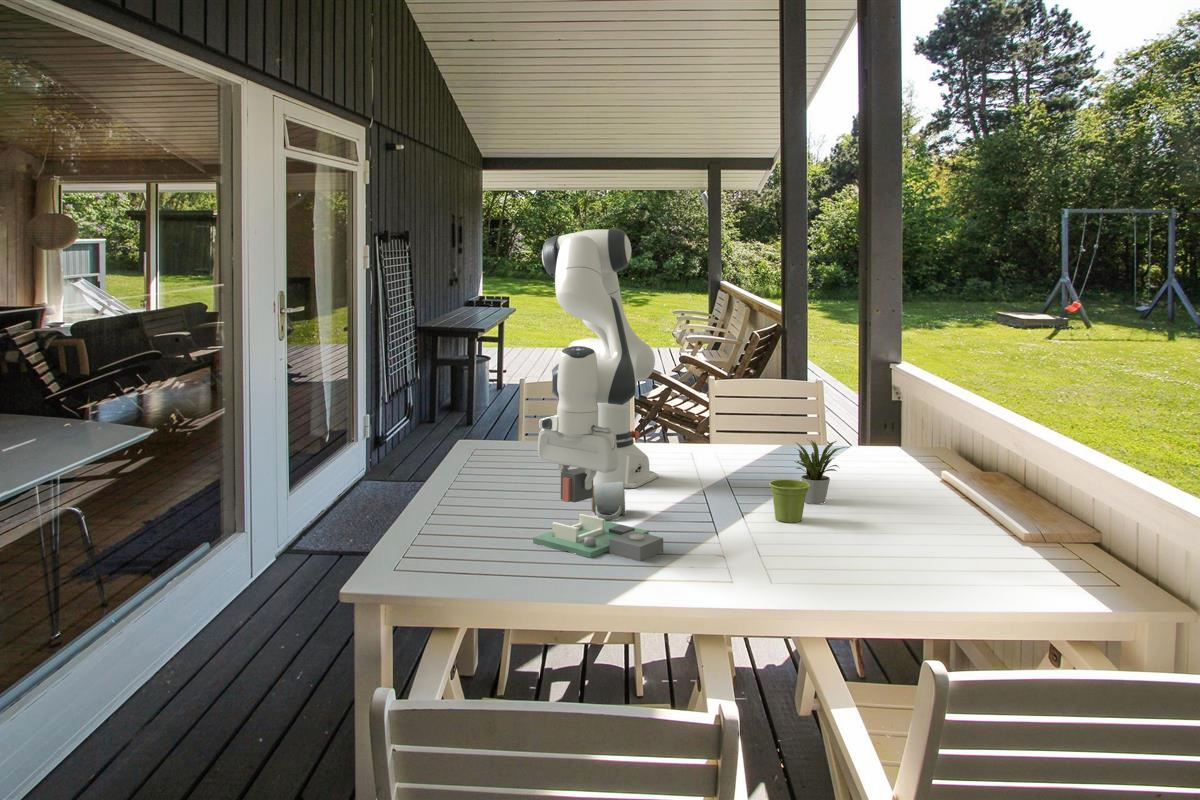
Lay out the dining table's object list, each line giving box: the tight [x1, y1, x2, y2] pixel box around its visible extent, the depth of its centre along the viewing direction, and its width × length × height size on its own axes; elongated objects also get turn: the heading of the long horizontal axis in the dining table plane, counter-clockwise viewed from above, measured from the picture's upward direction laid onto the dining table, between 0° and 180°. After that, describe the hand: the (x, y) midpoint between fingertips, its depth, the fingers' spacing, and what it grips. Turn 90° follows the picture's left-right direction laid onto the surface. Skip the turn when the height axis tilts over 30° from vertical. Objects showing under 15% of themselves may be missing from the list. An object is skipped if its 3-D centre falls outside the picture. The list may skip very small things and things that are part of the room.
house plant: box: [793, 438, 851, 505], centre depth 240 cm, size 14×14×16 cm
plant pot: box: [768, 478, 810, 524], centre depth 224 cm, size 9×9×9 cm
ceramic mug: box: [590, 482, 626, 521], centre depth 228 cm, size 11×8×8 cm
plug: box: [560, 467, 593, 503], centre depth 206 cm, size 7×4×6 cm, turn 140°
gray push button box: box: [608, 531, 664, 562], centre depth 199 cm, size 8×8×4 cm
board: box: [532, 513, 650, 559], centre depth 208 cm, size 20×16×4 cm
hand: (577, 486), depth 206 cm, fingers closed on plug, 4 cm apart
